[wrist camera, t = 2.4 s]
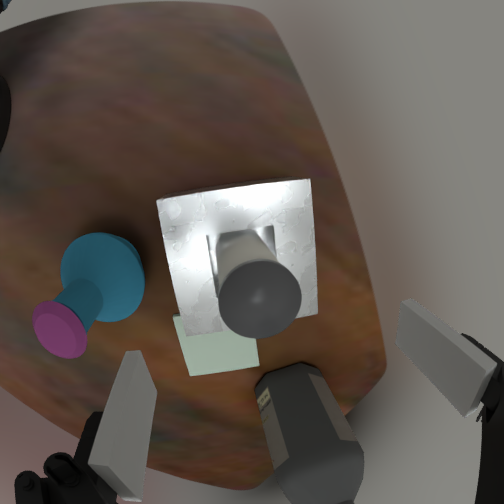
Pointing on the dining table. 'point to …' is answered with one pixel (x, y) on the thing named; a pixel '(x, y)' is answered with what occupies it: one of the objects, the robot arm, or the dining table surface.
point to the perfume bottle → (90, 292)
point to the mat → (216, 350)
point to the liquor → (309, 437)
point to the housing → (233, 219)
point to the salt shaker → (254, 286)
